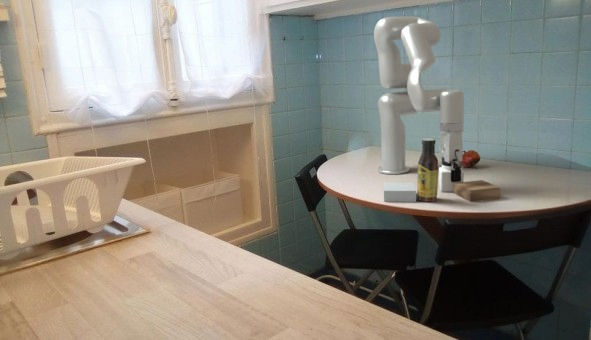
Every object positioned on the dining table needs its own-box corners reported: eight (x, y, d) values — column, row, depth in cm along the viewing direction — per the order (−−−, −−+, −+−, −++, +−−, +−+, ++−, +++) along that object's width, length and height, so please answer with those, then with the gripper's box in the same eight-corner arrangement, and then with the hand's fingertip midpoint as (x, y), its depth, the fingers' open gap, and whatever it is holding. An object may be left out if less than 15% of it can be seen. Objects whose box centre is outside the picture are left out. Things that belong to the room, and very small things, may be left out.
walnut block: (454, 194, 157) (454, 183, 157) (481, 191, 159) (481, 180, 158) (470, 202, 148) (470, 190, 147) (499, 199, 150) (499, 187, 149)
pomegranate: (482, 172, 191) (471, 154, 197) (487, 161, 186) (475, 142, 192) (465, 176, 190) (454, 158, 196) (470, 164, 185) (458, 146, 191)
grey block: (384, 194, 162) (384, 182, 162) (414, 194, 160) (414, 182, 160) (384, 202, 153) (383, 190, 152) (415, 202, 151) (415, 190, 150)
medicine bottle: (463, 192, 158) (464, 157, 156) (441, 192, 160) (441, 157, 157) (459, 186, 165) (460, 152, 163) (438, 186, 167) (439, 153, 164)
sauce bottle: (414, 197, 155) (414, 137, 151) (433, 196, 156) (433, 136, 151) (421, 203, 149) (421, 141, 144) (440, 201, 149) (441, 139, 145)
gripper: (432, 125, 166) (432, 173, 170) (449, 131, 149) (449, 185, 153) (453, 124, 167) (452, 172, 170) (473, 130, 150) (472, 183, 153)
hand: (451, 178), depth 162 cm, fingers closed on medicine bottle, 8 cm apart
